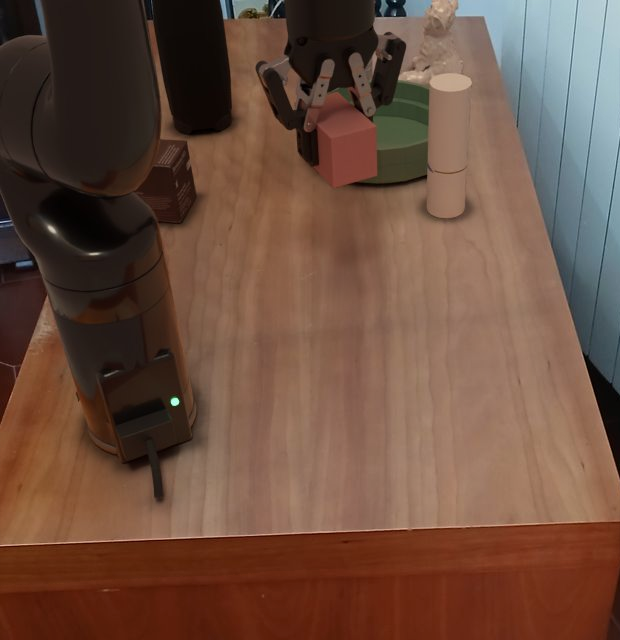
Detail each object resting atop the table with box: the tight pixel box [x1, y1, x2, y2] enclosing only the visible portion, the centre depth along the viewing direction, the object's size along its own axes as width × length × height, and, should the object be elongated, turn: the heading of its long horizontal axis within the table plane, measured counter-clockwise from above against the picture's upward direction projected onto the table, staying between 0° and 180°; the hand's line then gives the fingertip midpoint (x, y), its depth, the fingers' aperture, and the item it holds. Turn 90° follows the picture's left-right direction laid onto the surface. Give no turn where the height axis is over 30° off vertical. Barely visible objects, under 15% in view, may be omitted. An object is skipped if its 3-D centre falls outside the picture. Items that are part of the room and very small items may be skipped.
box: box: [134, 138, 197, 224], centre depth 104 cm, size 6×6×7 cm
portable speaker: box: [151, 0, 233, 135], centre depth 116 cm, size 9×9×20 cm
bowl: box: [326, 80, 430, 185], centre depth 113 cm, size 18×18×5 cm
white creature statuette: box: [398, 0, 465, 87], centre depth 124 cm, size 10×9×12 cm
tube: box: [426, 73, 473, 219], centre depth 99 cm, size 4×4×15 cm
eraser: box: [293, 92, 377, 189], centre depth 85 cm, size 8×4×5 cm, turn 26°
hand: (336, 155), depth 86 cm, fingers closed on eraser, 4 cm apart
